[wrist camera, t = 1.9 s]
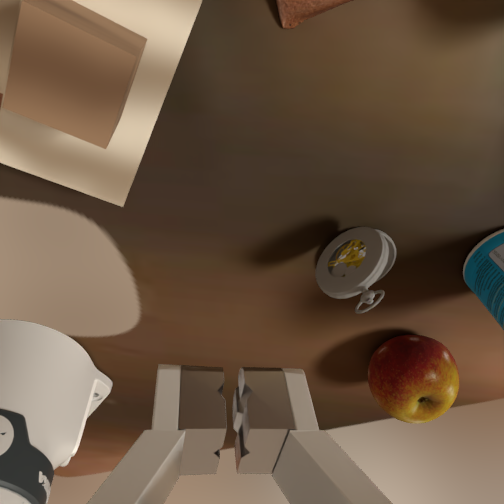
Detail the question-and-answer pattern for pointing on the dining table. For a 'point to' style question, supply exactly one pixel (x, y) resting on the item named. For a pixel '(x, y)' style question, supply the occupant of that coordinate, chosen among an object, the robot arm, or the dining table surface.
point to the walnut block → (72, 69)
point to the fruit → (413, 378)
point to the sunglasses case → (303, 10)
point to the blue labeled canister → (488, 273)
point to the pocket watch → (356, 264)
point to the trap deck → (134, 114)
